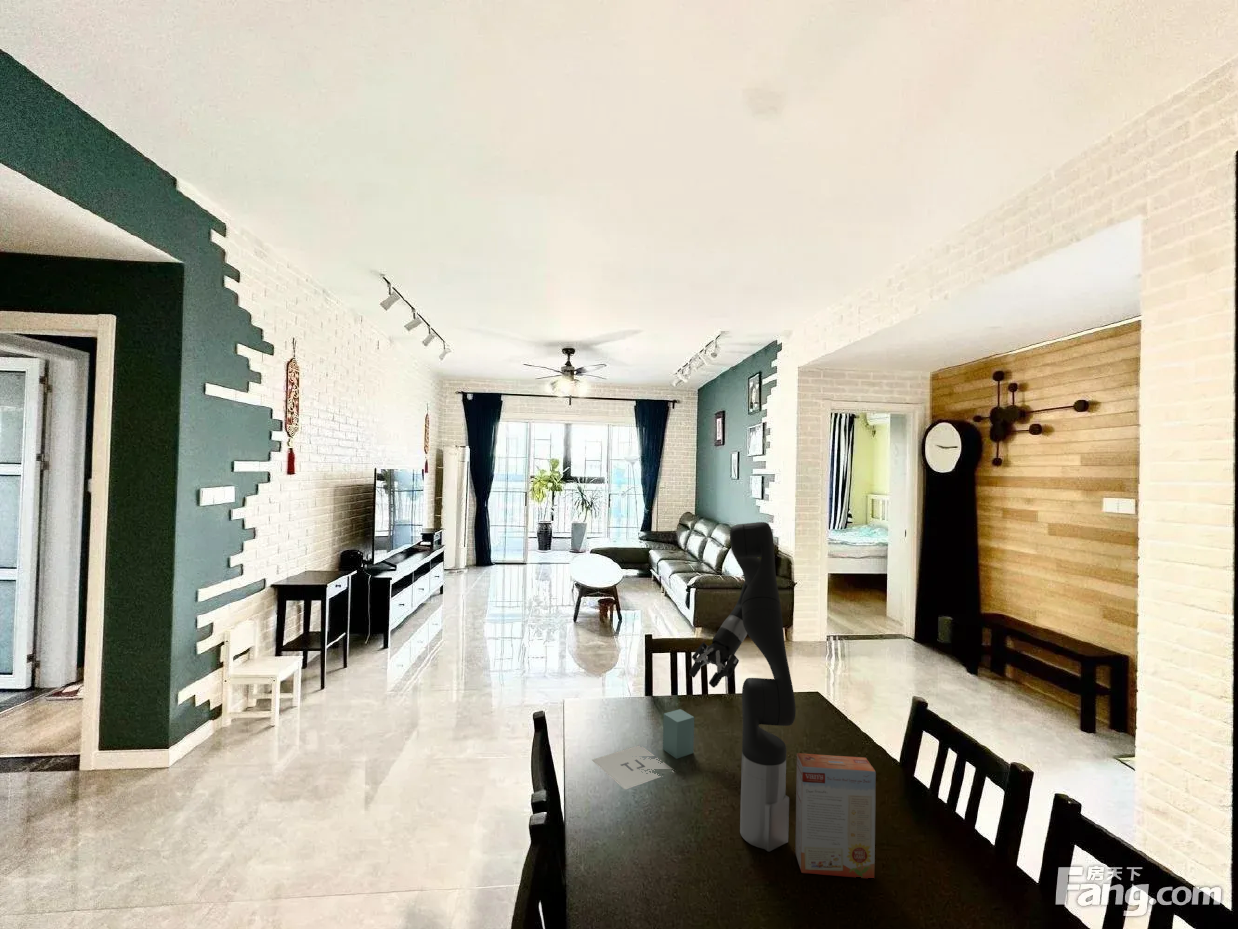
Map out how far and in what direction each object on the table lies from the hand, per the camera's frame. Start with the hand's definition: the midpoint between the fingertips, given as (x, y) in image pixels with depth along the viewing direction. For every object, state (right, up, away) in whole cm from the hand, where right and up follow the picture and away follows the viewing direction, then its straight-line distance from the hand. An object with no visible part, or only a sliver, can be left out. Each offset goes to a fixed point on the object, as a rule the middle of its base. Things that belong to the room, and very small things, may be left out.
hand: (701, 680), depth 159 cm
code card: (-20, -17, -13) cm, 29 cm away
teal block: (-7, -18, -5) cm, 20 cm away
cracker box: (+19, -18, -48) cm, 55 cm away
